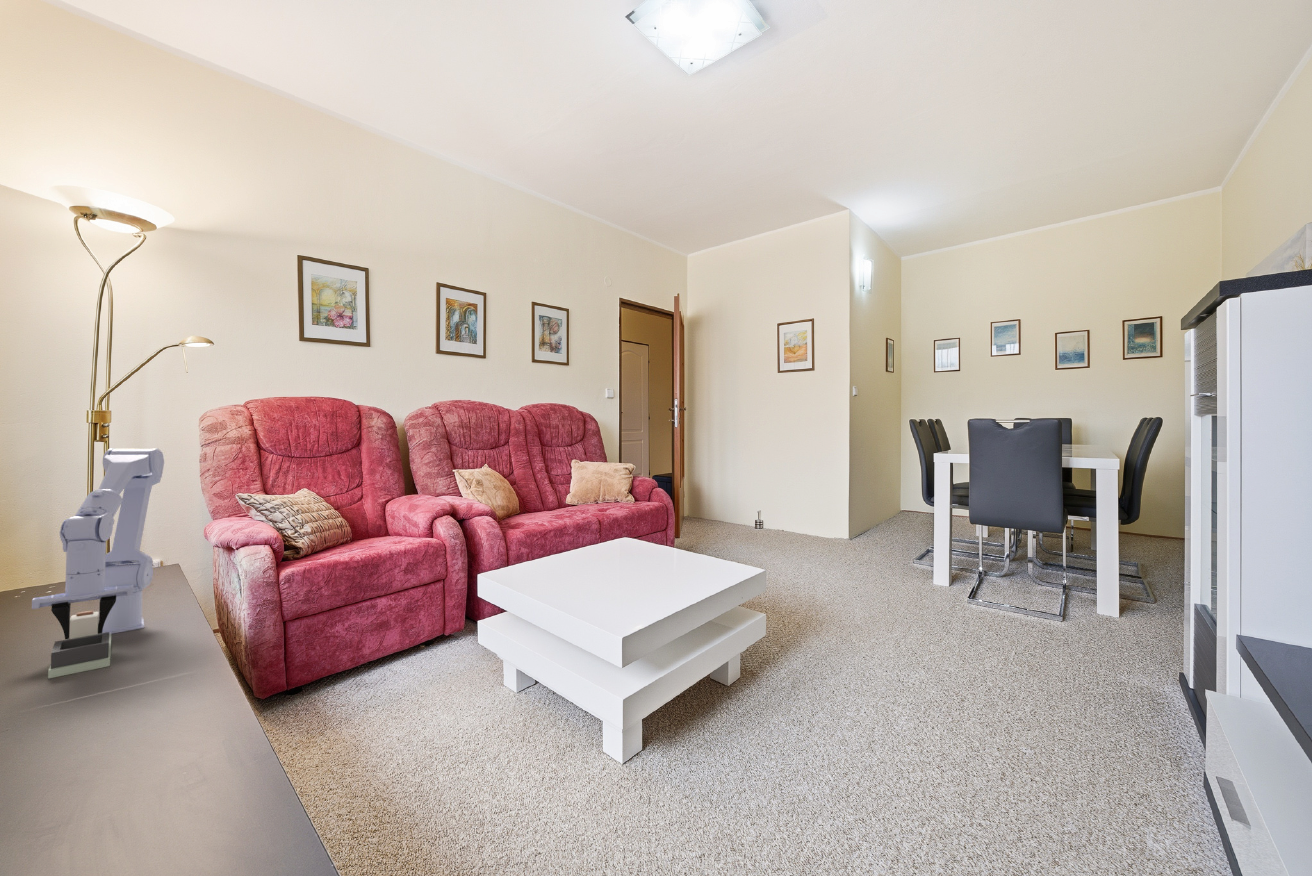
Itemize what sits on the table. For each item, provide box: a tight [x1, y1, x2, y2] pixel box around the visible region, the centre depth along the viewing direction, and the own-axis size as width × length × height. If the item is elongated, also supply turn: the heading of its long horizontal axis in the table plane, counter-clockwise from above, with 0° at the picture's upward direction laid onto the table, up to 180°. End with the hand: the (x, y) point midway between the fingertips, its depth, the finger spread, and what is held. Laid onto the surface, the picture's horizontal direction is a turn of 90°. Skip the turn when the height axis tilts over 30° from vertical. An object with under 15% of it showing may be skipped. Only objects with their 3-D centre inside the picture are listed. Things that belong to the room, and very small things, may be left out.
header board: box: [47, 632, 112, 680], centre depth 107 cm, size 20×8×4 cm, turn 46°
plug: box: [69, 610, 99, 639], centre depth 111 cm, size 5×4×6 cm
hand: (84, 635), depth 111 cm, fingers closed on plug, 4 cm apart
